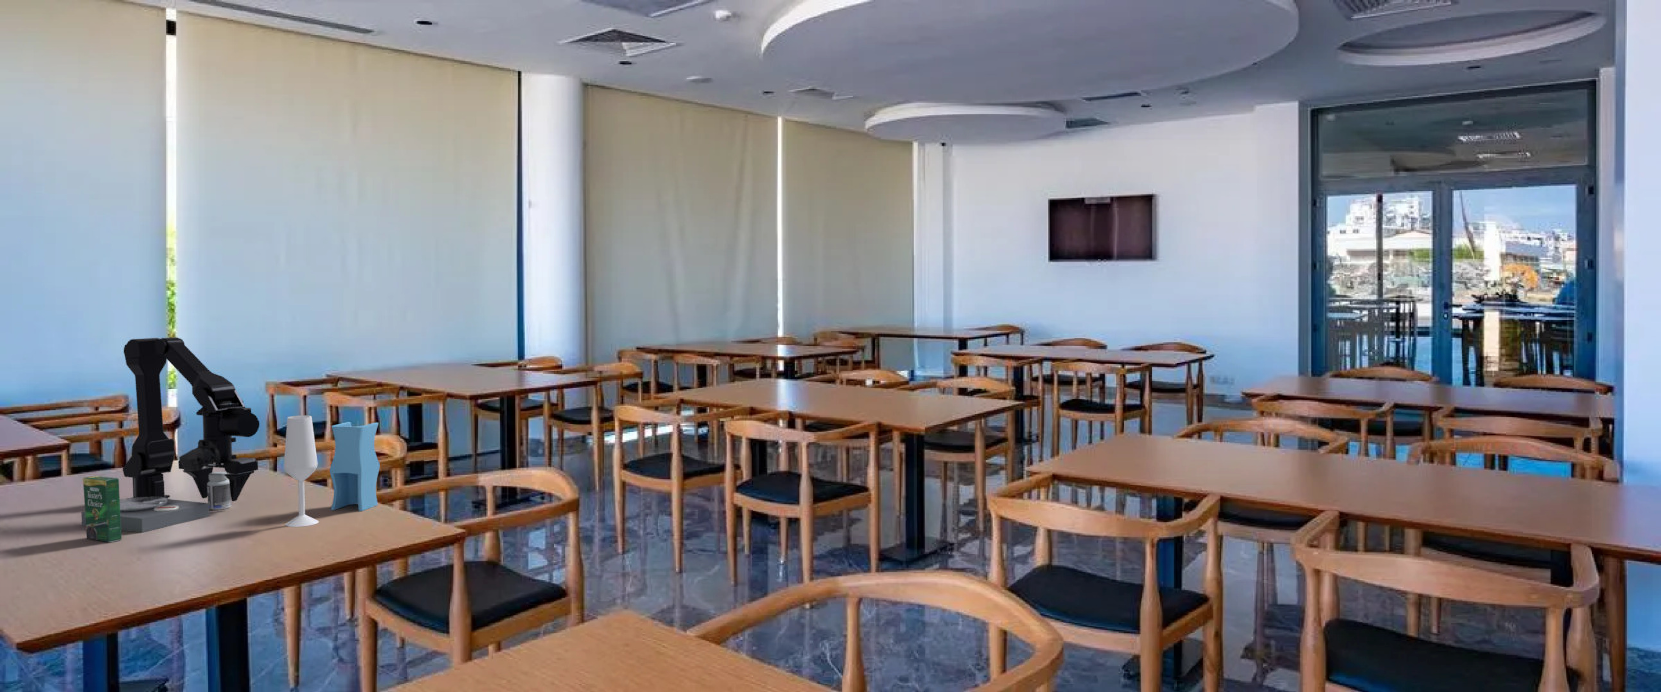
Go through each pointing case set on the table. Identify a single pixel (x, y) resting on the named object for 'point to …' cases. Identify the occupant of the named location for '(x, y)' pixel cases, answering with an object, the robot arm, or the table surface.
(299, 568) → the table surface
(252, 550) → the table surface
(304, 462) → the champagne flute
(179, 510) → the scale
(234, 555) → the table surface
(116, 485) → the coffee box
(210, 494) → the pill bottle
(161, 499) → the scale pan
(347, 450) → the blue wavy hollow stand
